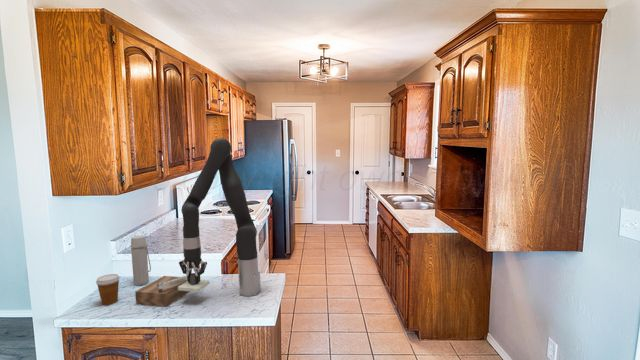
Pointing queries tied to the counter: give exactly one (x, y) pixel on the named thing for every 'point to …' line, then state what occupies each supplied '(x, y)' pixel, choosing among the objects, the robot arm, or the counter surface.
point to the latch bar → (171, 282)
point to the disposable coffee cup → (108, 288)
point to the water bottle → (140, 260)
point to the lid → (193, 284)
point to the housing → (159, 293)
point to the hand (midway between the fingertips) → (194, 282)
